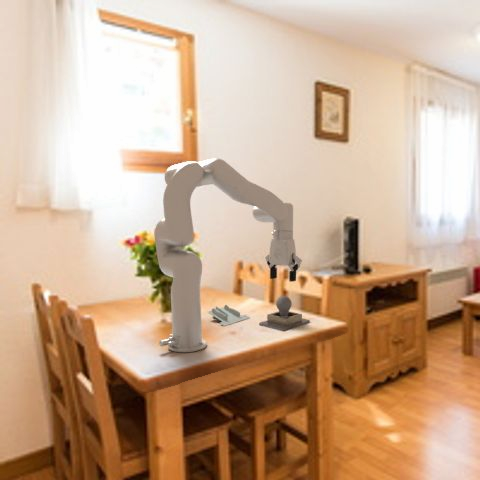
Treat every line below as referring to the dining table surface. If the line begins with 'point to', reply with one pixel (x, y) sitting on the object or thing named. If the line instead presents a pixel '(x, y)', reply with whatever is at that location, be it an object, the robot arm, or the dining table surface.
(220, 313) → the metal bracket
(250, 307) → the dining table surface
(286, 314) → the light bulb
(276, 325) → the grey square socket base
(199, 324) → the robot arm
